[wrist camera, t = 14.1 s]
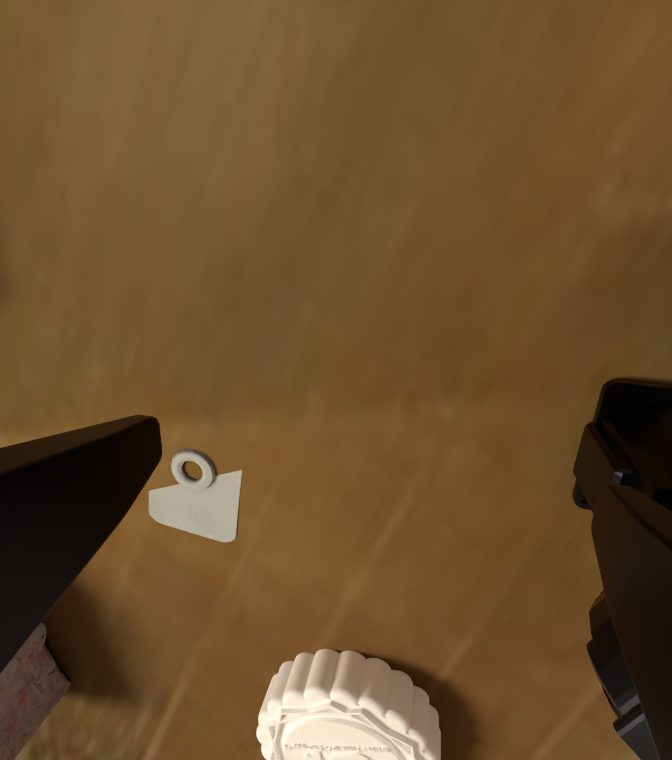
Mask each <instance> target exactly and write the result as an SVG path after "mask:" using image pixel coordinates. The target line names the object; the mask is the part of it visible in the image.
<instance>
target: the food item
mask: <svg viewBox="0 0 672 760" xmlns="http://www.w3.org/2000/svg"><path fill="white" fill-rule="evenodd" d="M46 633H47V631H46V627H45V625H44V624H43V623H40V625H39V626H38V627H37V628H36V630H35V631H34V632H33V633H32V635H31V636H30V637H29V639H28V640H27V641H26V642H25V644H24V645H23V646H22V647H21V649H20V650H19V651H18V652H17V654H16V655H15V656H14V658H13V659H12V660H11V661H10V663H9V664H8V665H7V666H6V668H5V669H4V670H3V671H2V673H1V674H0V760H14V759H15V757H16V756H17V755H18V754H19V752H20V751H21V750H22V748H23V747H24V746H25V744H26V743H27V742H28V740H29V739H30V738H31V736H32V735H33V734H34V732H35V731H36V730H37V729H38V727H39V726H40V725H41V724H42V722H43V721H44V720H45V718H46V717H47V716H48V713H50V711H51V710H52V709H53V708H54V706H55V705H56V704H57V703H58V702H59V700H60V699H61V698H62V697H63V695H64V694H65V693H66V692H67V691H68V689H69V686H70V684H71V683H70V682H69V681H68V680H67V679H66V677H65V676H64V674H63V673H61V672H60V671H59V669H58V667H57V665H56V663H55V661H54V659H53V657H52V656H51V654H50V653H49V651H48V650H47V648H46V646H45V645H44V643H45V638H46Z"/></svg>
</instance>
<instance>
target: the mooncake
mask: <svg viewBox="0 0 672 760" xmlns="http://www.w3.org/2000/svg"><path fill="white" fill-rule="evenodd" d="M258 721H259V725H258V728H257V738H258V740H259V742H260V743H261V744H262V747H261V750H262V754H263V756H264V757H265V758H266V759H267V760H441V731H440V728H439V715H438V712H437V710H436V709H435V708H434V707H433V706H431V705H429V697H428V694H427V693H426V692H425V691H424V690H423V689H421V688H419V687H417V686H413V682H412V680H411V678H410V677H409V676H408V675H407V674H406V673H404V672H402V671H399V670H391V668H390V666H389V665H388V664H387V663H386V662H384V661H383V660H381V659H378V658H367V659H366V658H365V657H364V656H363V655H361V654H360V653H358V652H355V651H350V650H348V651H343V652H341V653H338V652H336V651H334V650H332V649H321V650H319V651H317V652H316V654H313V653H308V652H303V653H300V654H298V655H297V656H296V658H295V661H286V662H284V663H283V664H282V665H281V667H280V670H279V672H278V674H275V675H274V676H273V678H272V680H271V683H270V685H269V688H268V691H267V694H266V696H265V699H264V702H263V705H262V707H261V710H260V713H259V717H258Z"/></svg>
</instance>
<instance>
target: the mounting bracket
mask: <svg viewBox="0 0 672 760" xmlns="http://www.w3.org/2000/svg"><path fill="white" fill-rule="evenodd" d="M185 461H194V462H196V463H197V464H198V465H200V467H201V468H202V471H203V476H202V478H201V479H198V480H194V479H191V478H189V477H188V476H187V475H186V474H185V473H184V471H183V467H182V466H183V463H184V462H185ZM171 468H172V473H173V475H174V477H175V478H176V480H177V481H178V482H179V483H180V484H178V485H173V486H169V487H165V488H160V489H156V490H151V491H149V514H150V515H151V517H152V518H153V519H154V520H156V521H157V522H159V523H161V524H164V525H167V526H170V527H174V528H177V529H180V530H184V531H187V532H190V533H194V534H197V535H200V536H204V537H207V538H210V539H214V540H217V541H220V542H231V541H233V540H234V539H236V531H237V520H238V508H239V497H240V485H241V473H242V470H240V471H236V472H231V473H227V474H222V475H218V476H215V469H214V466H213V464H212V463H211V461H210V459H209V458H207V457H206V456H205V455H204V454H203V453H201V452H199V451H197V450H194V449H184V450H181V451H178V452H177V454H176V455H175V456H174V457H173V460H172V464H171Z"/></svg>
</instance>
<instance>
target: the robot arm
mask: <svg viewBox="0 0 672 760" xmlns="http://www.w3.org/2000/svg"><path fill="white" fill-rule="evenodd" d="M615 388H620V389H621V391H620V393H619V394H617V395H613V396H612V395H611V392H612V390H614V389H615ZM161 456H162V443H161V435H160V426H159V422H158V420H157V419H156V418H155V417H152V416H145V415H134V416H130V417H126V418H122V419H118V420H114V421H110V422H106V423H102V424H97V425H93V426H89V427H85V428H81V429H77V430H73V431H69V432H65V433H60V434H56V435H52V436H48V437H44V438H40V439H36V440H32V441H28V442H23V443H19V444H15V445H11V446H7V447H3V448H0V674H1V673H2V671H3V670H4V669H5V668H6V666H7V665H8V664H9V663H10V661H11V660H12V659H13V658H14V656H15V655H16V654H17V652H18V651H19V650H20V649H21V647H22V646H23V645H24V644H25V642H26V641H27V640H28V639H29V637H30V636H31V635H32V633H33V632H34V631H35V630H36V628H37V627H38V626H39V625H40V623H41V622H42V621H43V620H44V618H45V617H46V616H47V614H48V613H49V612H50V611H51V609H52V608H53V607H54V606H55V604H56V603H57V602H58V601H59V599H60V598H61V597H62V595H63V594H64V593H65V592H66V590H67V589H68V588H69V587H70V585H71V584H72V583H73V581H74V580H75V579H76V578H77V576H78V575H79V574H80V573H81V571H82V570H83V569H84V568H85V566H86V565H87V564H88V562H89V561H90V560H91V559H92V557H93V556H94V555H95V554H96V552H97V551H98V550H99V549H100V547H101V546H102V545H103V543H104V542H105V541H106V540H107V538H108V537H109V536H110V535H111V533H112V532H113V531H114V530H115V528H116V527H117V526H118V524H119V523H120V522H121V520H122V519H123V518H124V516H125V515H126V513H127V512H128V510H129V509H130V507H131V506H132V504H133V503H134V501H135V500H136V498H137V497H138V495H139V493H140V492H141V490H142V489H143V487H144V486H145V484H146V482H147V481H148V479H149V478H150V476H151V475H152V473H153V471H154V470H155V468H156V467H157V465H158V464H159V462H160V459H161ZM573 473H574V475H575V477H576V483H575V486H574V490H573V493H572V497H573V499H574V502H575V504H576V505H577V506H578V507H580V508H583V509H588V510H592V512H593V515H594V516H593V519H592V525H591V530H592V537H593V541H594V546H595V551H596V555H597V560H598V565H599V569H600V574H601V579H602V583H603V588H604V590H603V591H602V592H601V594H600V595H599V596H598V597H597V598H596V599H595V601H594V603H593V605H592V607H591V609H590V611H589V615H590V626H591V634H592V637H593V639H591V640H590V641H589V642H588V643H587V651H588V655H589V658H590V660H591V663H592V665H593V667H594V670H595V672H596V674H597V677H598V679H599V681H600V683H601V685H602V688H603V691H604V693H605V695H606V697H607V699H608V701H609V703H610V705H611V707H612V709H613V711H614V712H615V714H616V715H617V717H618V719H617V720H615V721H614V723H613V725H614V728H615V730H616V732H617V733H618V734H619V736H620V737H621V738H622V739H623V740H624V741H625V742H626V743H627V745H628V746H629V747H630V748H631V749H632V750H633V751H634V752H635V753H636V754H637V756H638V757H639V758H640V759H641V760H672V385H663V384H654V383H645V382H636V381H626V380H610V381H608V382H607V383H605V384H604V386H603V387H602V390H601V393H600V397H599V401H598V404H597V408H596V411H595V415H594V418H593V422H590V423H588V424H587V425H586V426H585V428H584V432H583V436H582V439H581V443H580V446H579V450H578V454H577V457H576V461H575V465H574V468H573ZM582 496H585V498H586V499H584V500H582V499H580V498H581V497H582Z"/></svg>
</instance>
